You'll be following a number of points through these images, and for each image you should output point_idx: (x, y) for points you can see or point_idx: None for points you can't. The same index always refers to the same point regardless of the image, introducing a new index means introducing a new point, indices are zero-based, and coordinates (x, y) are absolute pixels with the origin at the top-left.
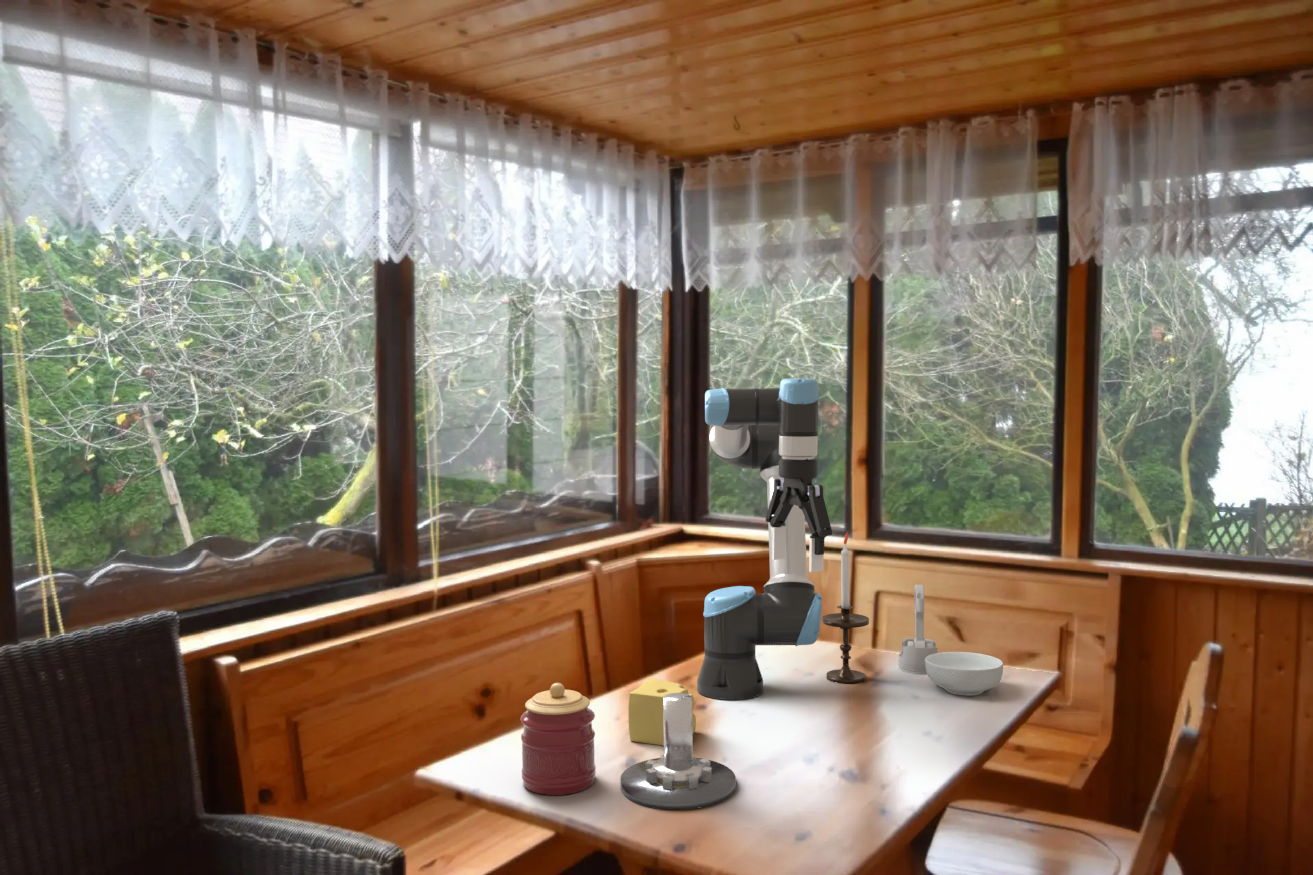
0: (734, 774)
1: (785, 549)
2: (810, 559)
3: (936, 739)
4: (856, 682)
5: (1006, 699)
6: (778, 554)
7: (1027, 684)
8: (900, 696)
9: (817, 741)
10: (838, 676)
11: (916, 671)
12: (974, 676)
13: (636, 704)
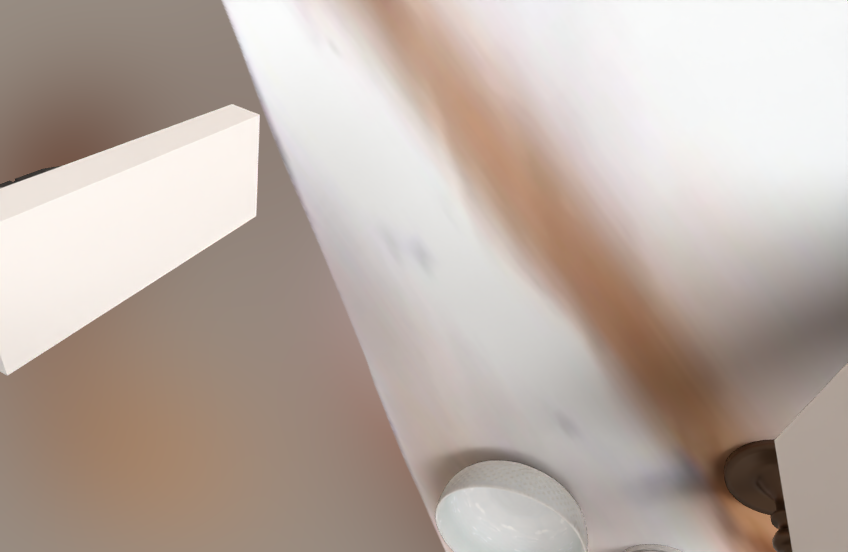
0: None
1: (788, 517)
2: (168, 139)
3: (389, 236)
4: (731, 455)
5: (441, 472)
6: (834, 422)
7: None
8: (592, 416)
9: (553, 43)
10: None
11: (649, 549)
12: (455, 481)
13: None
